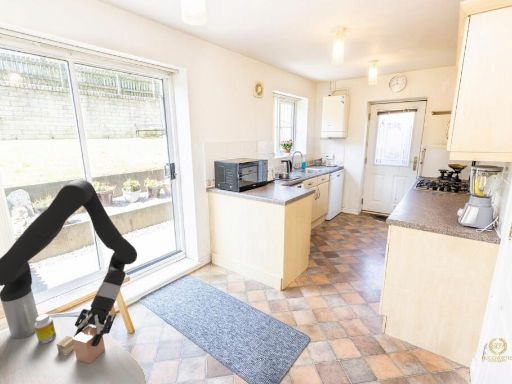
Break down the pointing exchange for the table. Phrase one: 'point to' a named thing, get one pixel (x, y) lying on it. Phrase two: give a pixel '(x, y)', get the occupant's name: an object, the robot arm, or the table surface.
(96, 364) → the table surface
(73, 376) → the table surface
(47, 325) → the supplement bottle
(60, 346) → the beige block
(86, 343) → the salmon orange block
